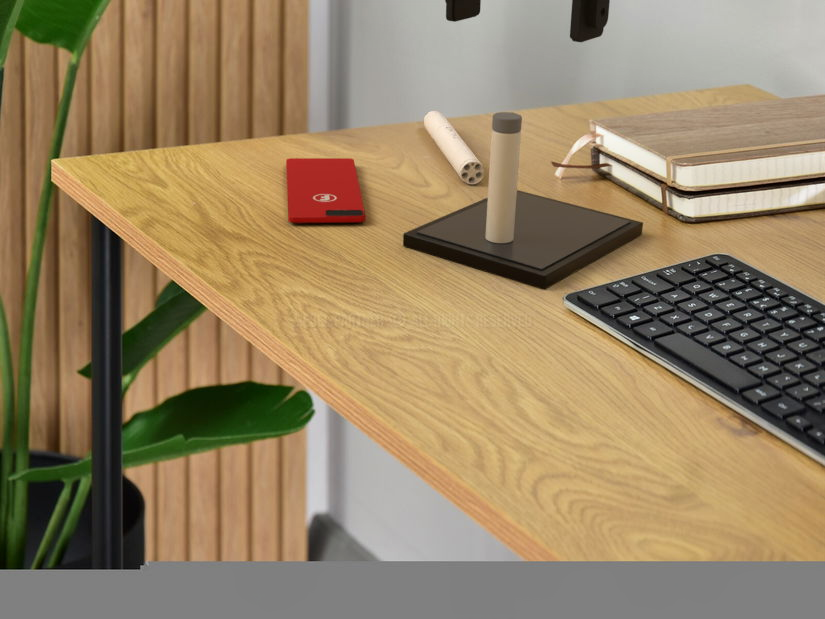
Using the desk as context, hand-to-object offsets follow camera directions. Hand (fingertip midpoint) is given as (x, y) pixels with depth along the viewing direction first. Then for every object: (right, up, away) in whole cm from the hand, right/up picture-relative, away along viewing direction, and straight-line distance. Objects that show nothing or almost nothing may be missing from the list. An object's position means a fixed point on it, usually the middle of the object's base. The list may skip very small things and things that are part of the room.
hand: (522, 28), depth 80 cm
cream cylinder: (-4, -5, +29) cm, 29 cm away
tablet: (+1, -14, +9) cm, 16 cm away
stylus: (-1, -14, +6) cm, 15 cm away
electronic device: (-14, -9, +17) cm, 25 cm away
